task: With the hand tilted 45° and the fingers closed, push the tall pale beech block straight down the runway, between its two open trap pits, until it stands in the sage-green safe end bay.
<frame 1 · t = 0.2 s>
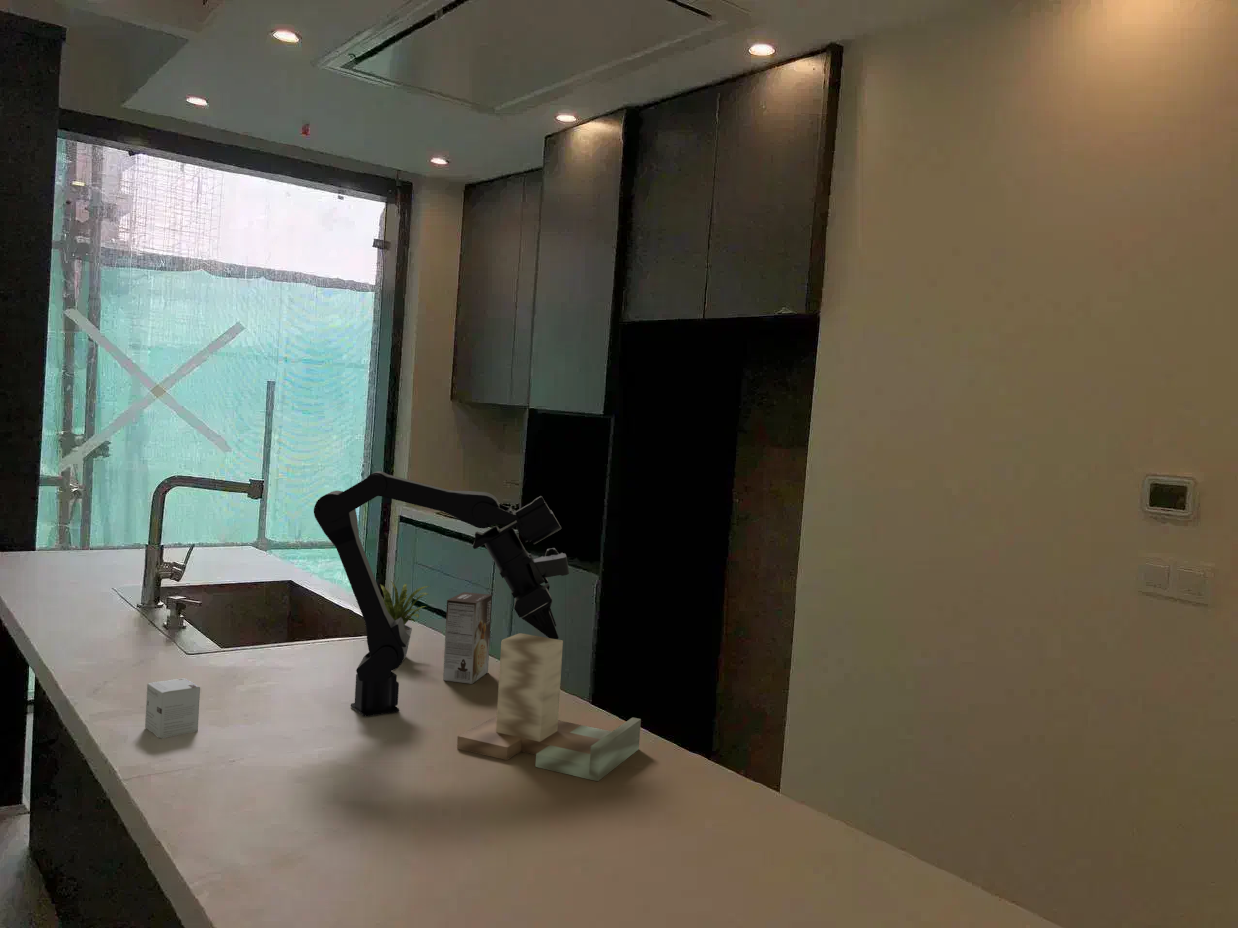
hand: (555, 633, 173), 15 cm above the table, tool tilted 35°, fingers open, 9 cm apart
house plant: (399, 658, 205), on the table
beech block: (526, 731, 158), point 2 cm above the table, touching trap runway
skincare box: (171, 731, 154), on the table
trap runway: (542, 747, 157), on the table
coffee box: (465, 677, 194), on the table
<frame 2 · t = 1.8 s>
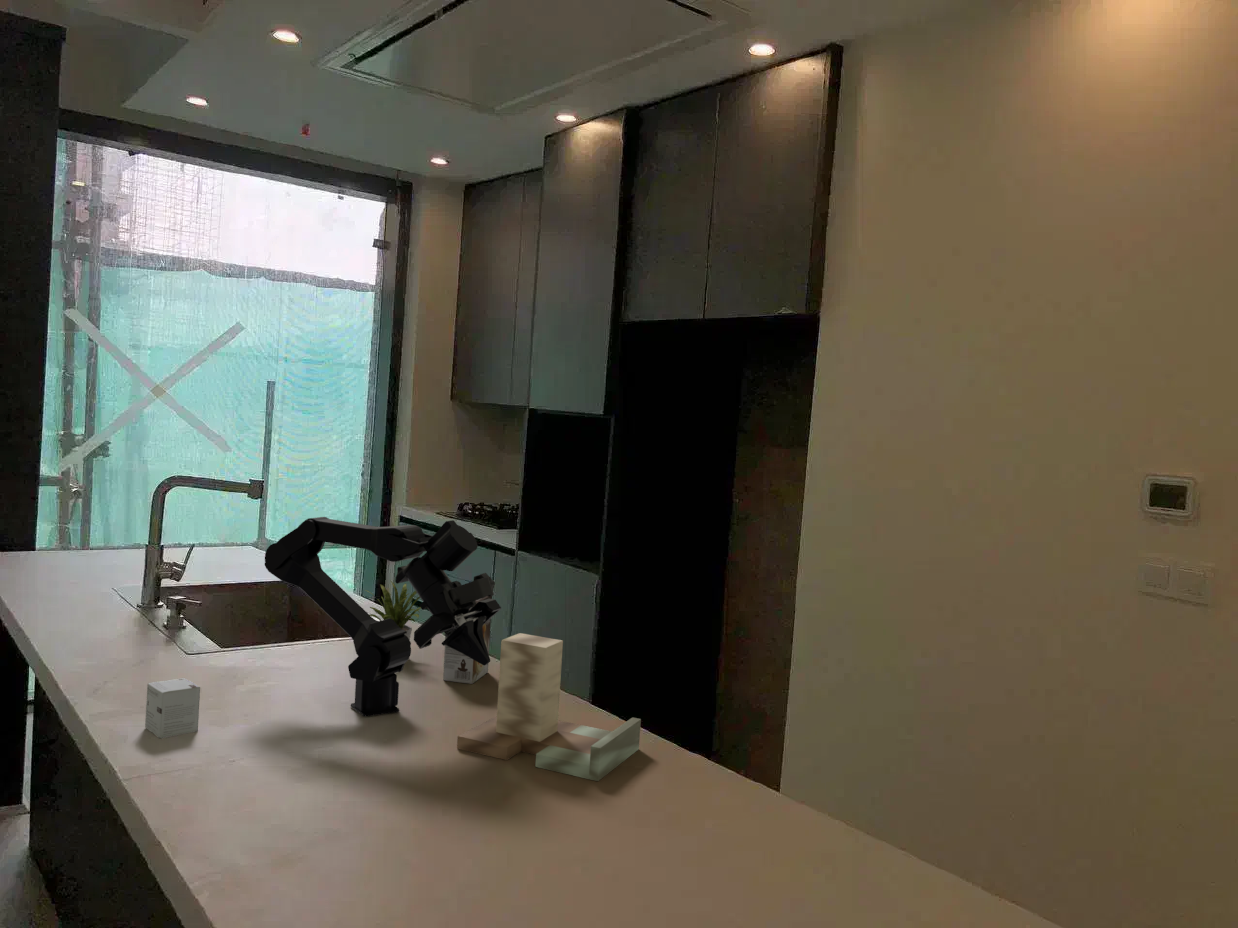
hand: (487, 663, 161), 12 cm above the table, tool tilted 45°, fingers closed
nothing on the table moved.
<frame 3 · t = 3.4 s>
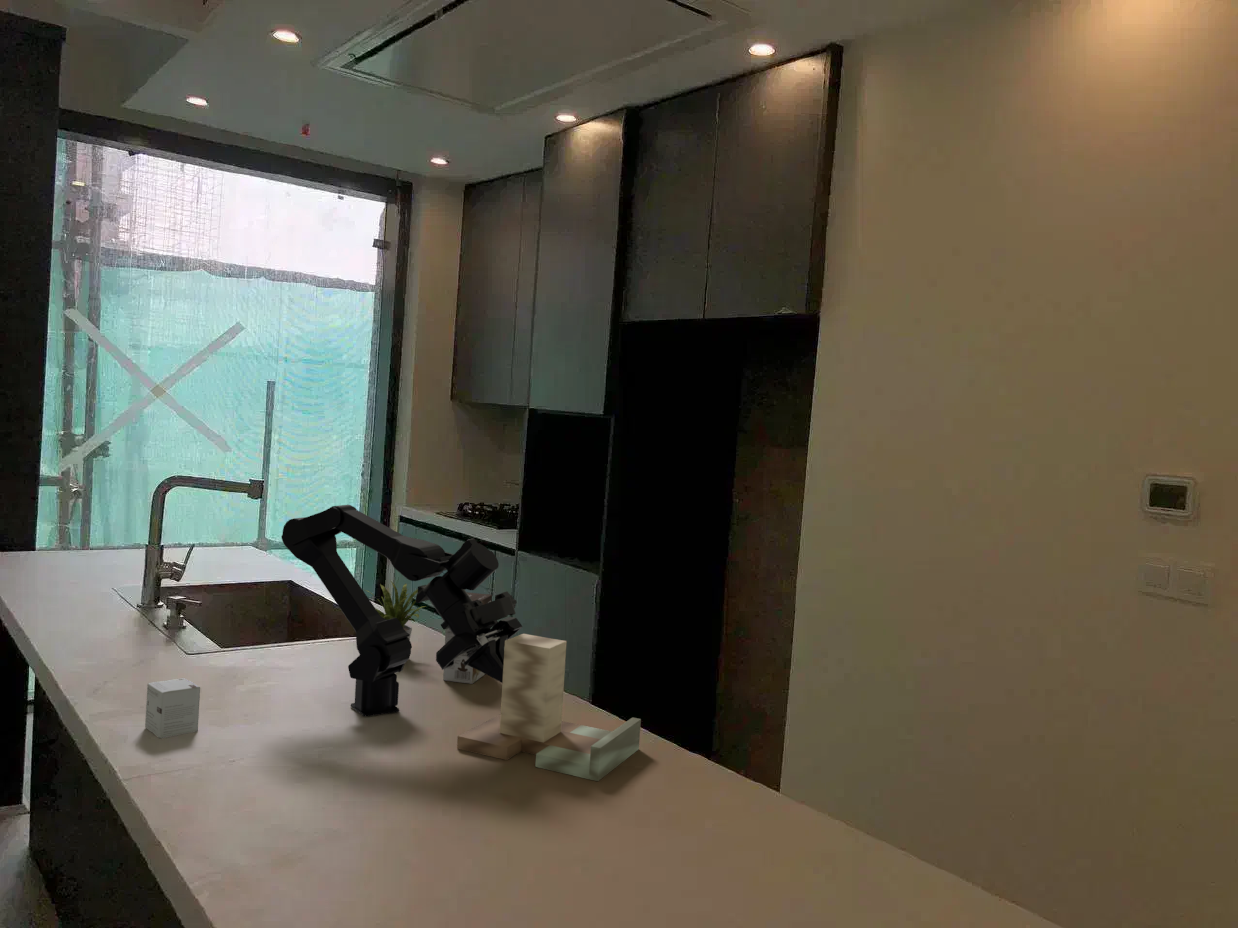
hand: (510, 683, 159), 9 cm above the table, tool tilted 45°, fingers closed, pressing on beech block
beech block: (530, 732, 158), point 2 cm above the table, touching gripper
everything else where it was.
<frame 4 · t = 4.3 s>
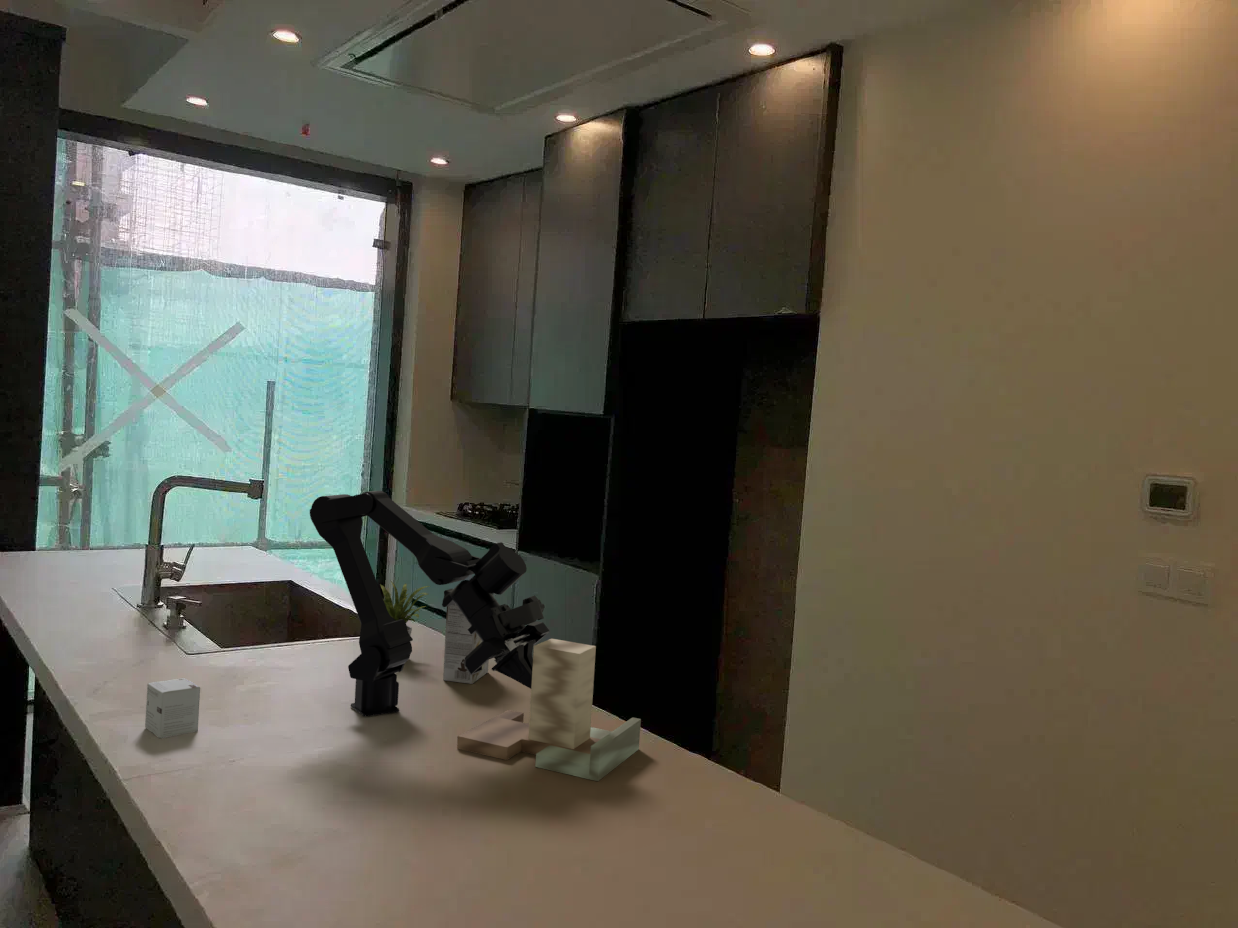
hand: (538, 688, 157), 9 cm above the table, tool tilted 45°, fingers closed, pressing on beech block
beech block: (559, 738, 156), point 2 cm above the table, touching gripper
everything else where it was.
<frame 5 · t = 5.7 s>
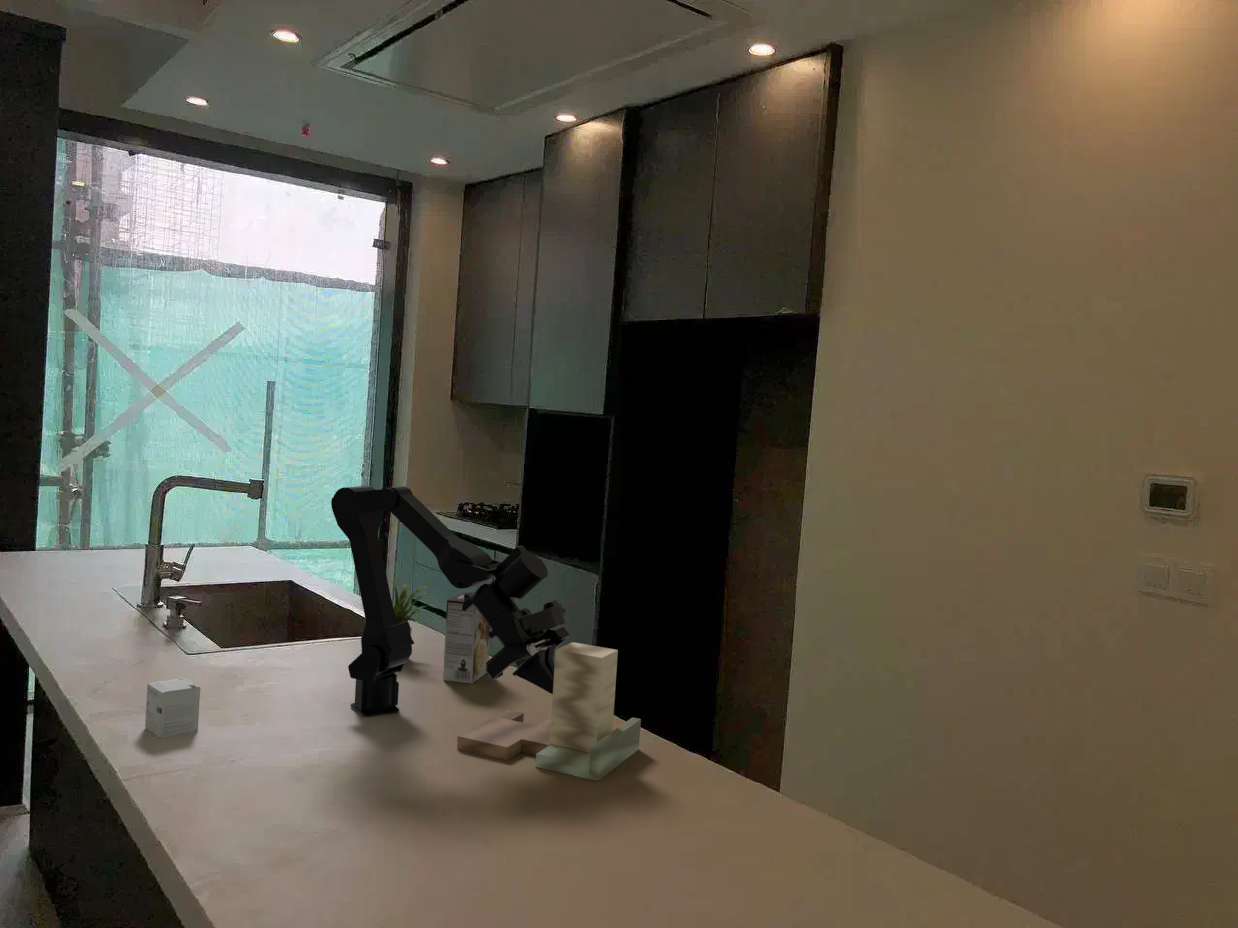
hand: (559, 694, 156), 9 cm above the table, tool tilted 45°, fingers closed, pressing on beech block
beech block: (580, 743, 154), point 2 cm above the table, touching gripper, trap runway
everything else where it was.
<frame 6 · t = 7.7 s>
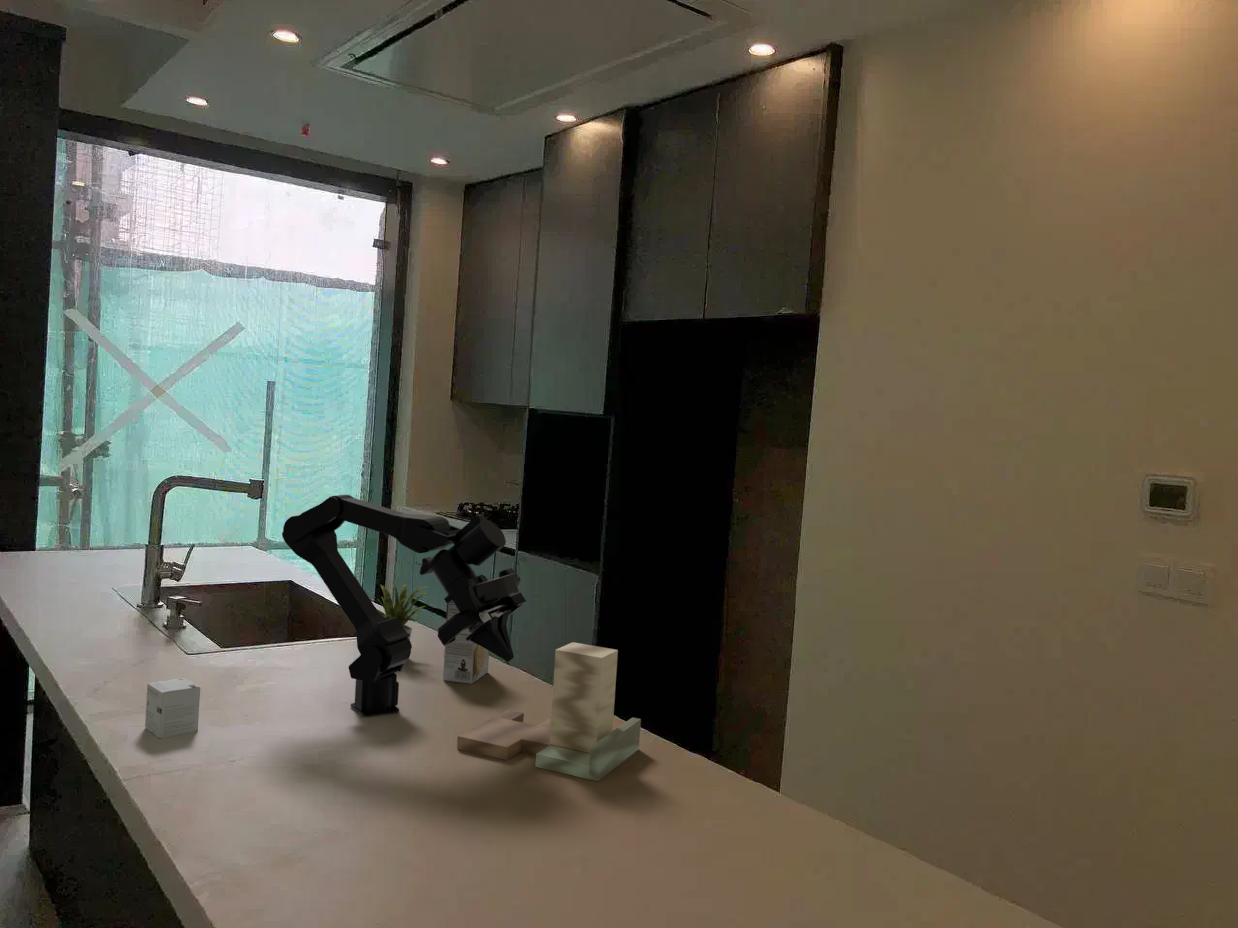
hand: (511, 659, 160), 13 cm above the table, tool tilted 40°, fingers closed
beech block: (580, 743, 154), point 2 cm above the table, touching trap runway
everything else where it was.
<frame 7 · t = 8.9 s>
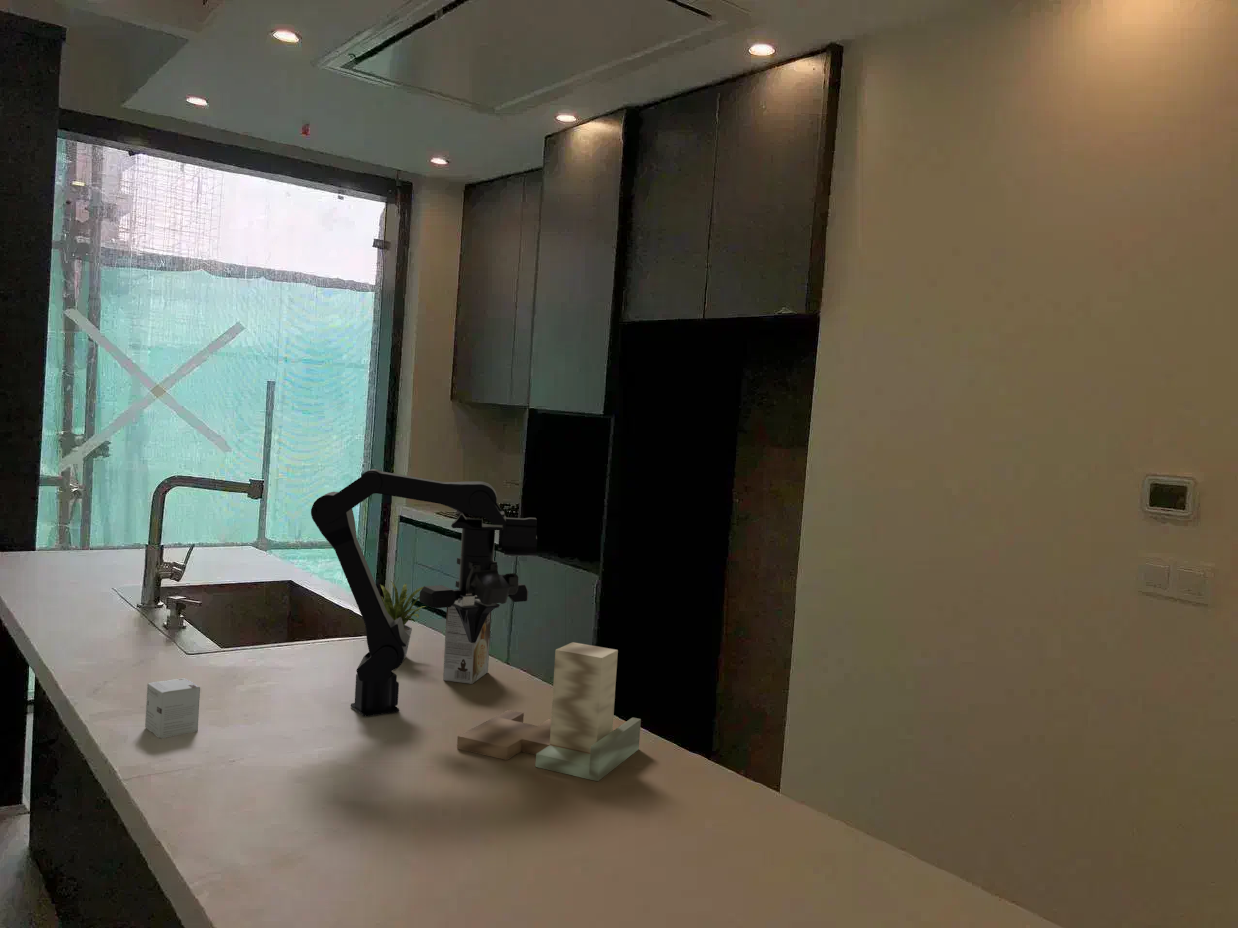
hand: (472, 642, 171), 12 cm above the table, tool pointing down, fingers closed
nothing on the table moved.
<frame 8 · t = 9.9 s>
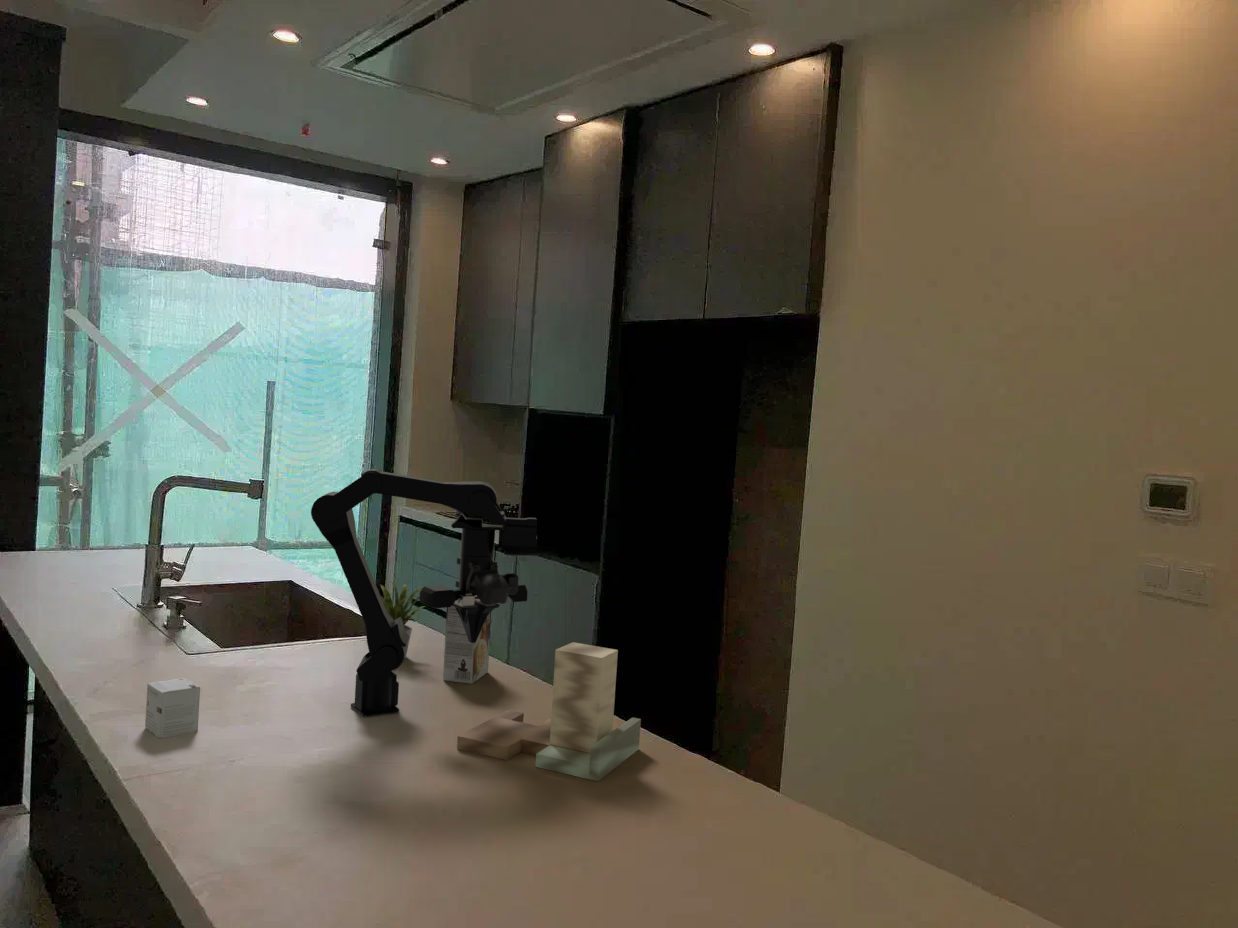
hand: (472, 642, 171), 12 cm above the table, tool pointing down, fingers closed
nothing on the table moved.
at the end: beech block inside the target area (0.8 cm from its centre), point 2.0 cm above the table; beech block tilted 0°; beech block moved 9.7 cm from its start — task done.
